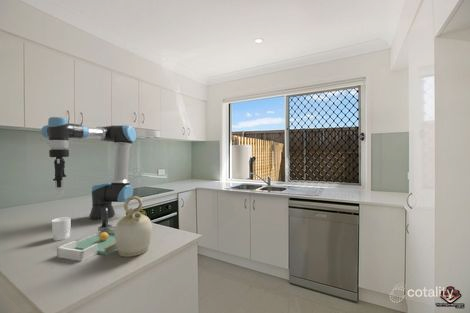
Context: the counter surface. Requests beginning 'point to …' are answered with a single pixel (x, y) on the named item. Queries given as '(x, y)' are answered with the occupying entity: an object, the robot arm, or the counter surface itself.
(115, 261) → the counter surface
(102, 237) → the ball
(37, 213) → the counter surface
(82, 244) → the pitch
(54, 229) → the white cup
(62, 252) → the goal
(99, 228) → the black lever handle
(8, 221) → the counter surface
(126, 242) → the jug
